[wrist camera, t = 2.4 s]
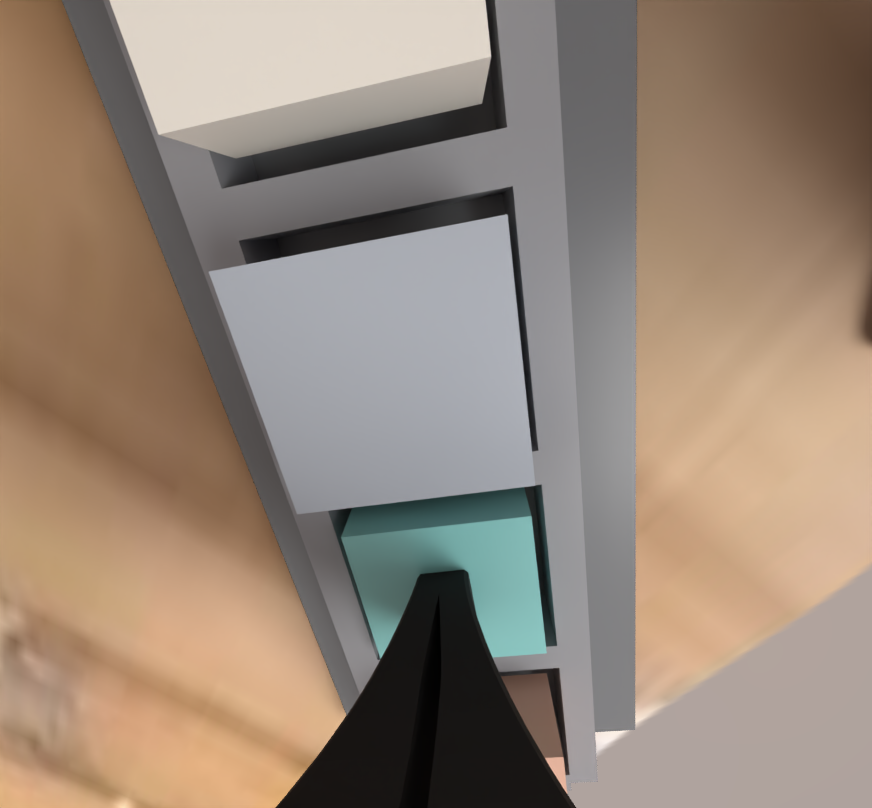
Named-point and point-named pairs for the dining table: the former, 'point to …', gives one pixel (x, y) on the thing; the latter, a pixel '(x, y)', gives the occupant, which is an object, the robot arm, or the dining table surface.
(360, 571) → the teal key
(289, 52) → the cream key
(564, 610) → the keypad
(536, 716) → the terracotta key
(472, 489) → the slate key
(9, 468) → the dining table surface
